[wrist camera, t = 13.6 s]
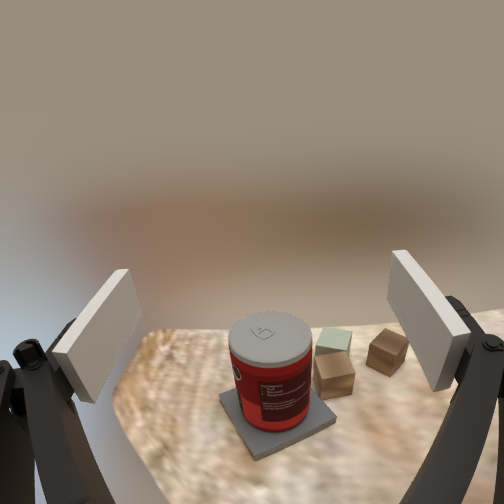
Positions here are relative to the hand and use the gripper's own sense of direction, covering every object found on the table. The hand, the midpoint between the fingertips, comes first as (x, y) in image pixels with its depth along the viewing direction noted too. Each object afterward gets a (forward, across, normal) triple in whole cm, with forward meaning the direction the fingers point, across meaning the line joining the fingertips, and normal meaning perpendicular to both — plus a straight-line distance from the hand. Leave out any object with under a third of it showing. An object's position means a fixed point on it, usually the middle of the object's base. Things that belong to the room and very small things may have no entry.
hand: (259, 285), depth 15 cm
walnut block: (+17, +15, -24) cm, 32 cm away
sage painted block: (+19, +7, -24) cm, 31 cm away
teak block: (+14, +7, -24) cm, 28 cm away
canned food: (+10, 0, -22) cm, 24 cm away
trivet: (+10, 0, -23) cm, 25 cm away
